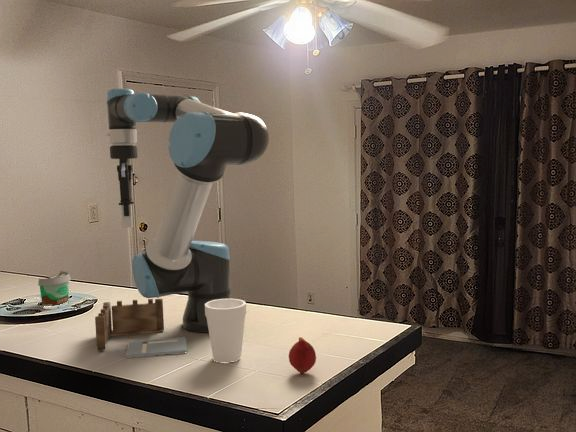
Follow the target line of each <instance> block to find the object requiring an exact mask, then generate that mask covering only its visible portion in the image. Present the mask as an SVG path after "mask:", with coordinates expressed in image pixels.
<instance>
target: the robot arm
mask: <svg viewBox="0 0 576 432" xmlns="http://www.w3.org/2000/svg"><path fill="white" fill-rule="evenodd" d="M106 105H107V118H108V119H107V122H108V129H109V130H108V131H109V132H108V133H106V136H107V137H109V144H110V146H109V157H110V159H112V160H118V162H119V165H116V172H117V175H118V176H117V179H118V182H119V195H120V200H119V201H120V202H118V205H119V206H120V207H121V208H120V209H121V222H122V223H121V225H122V228H123V229H125V228H133V211H132V209H133V207H132V205H134V203H135V202H134V201H132V185H131V183H132V181H131V180H132V179H133V178H132V177H133V175H132V171H133V165H131V164H130V159H137V158H138V146H137V145H136V144H137V143H138V133H137V123H173V125H172V127H171V128H170V131H169V136H168V142H169V145H168V154H169V157H170V159H171V161H172V162H173V167H174V168H175V170H176V174H175V177H174V179H173V182H172V186H171V189H170V193H169V195H168V199H167V202H166V205H165V208H164V211H163V214H162V216H161V217H162V218H161V221H160V224H159V228H158V231H157V233H156V236H155V237H154V238H153V239H151V240H150V241H149V242H148V243H147V244H146V247H145V250H144V252H143V253H141V252H139V253H137V254H135V255H134V256H133V258H132V261H131V269H132V270H131V271H132V277H133V280H134V284H135V286H136V289H137V291H138V292H139V294H140V296H141V297H143V298H146V299H154V298H155V299H160V298H161V297H166V296H171V295H178V294H182V293H187V301H186V305H185V308H184V312H183V316H182V327H183V329H185V330H188V331H191V332H196V333H209V330H208V324H207V318H206V316H205V303H207V302H209V301H212V300H217V299H233V298H232V294H231V293H232V292H231V264H230V263H231V258H230V257H231V256H230V249H229V246H228V245H227V244H225V243H222V242H216V241H210V240H209V241H208V240H207V241H206V240H193V239H194V236H195V233H196V231H197V228H198V225H199V223H200V220H201V217H202V214H203V212H204V208H205V205H206V203H207V201H208V199H209V195H210V193H211V190H212V187H213V184H214V183H216V182H219V181H220V180H222V178H223V176H224V174H225V172H226V168H227V167H228V166H240V165H241V166H242V165H248V164H251V163H254V162H256V161H257V160H258V159H260V158H261V157H262V156H263V155H264V154H265V152H266V150H267V149H268V146H269V144H270V143H269V141H270V133H269V130H268V127H267V125H266V124H265V123H264V121H263V120H262V119H261V118H260V117H259V116H256V115H254V114H250V113H246V112H242V111H241V112H240V111H239V112H238V111H237V112H235V113H233V112H229V111H227V110H225V109H224V110H223V109H221V108H217V107H215V106H212V105H209V104H206V103H204V102H201V101H200V100H199V98H198V97H196V96H192V95H186V94H185V95H170V94H169V95H168V94H154V93H153V94H152V93H151V94H149V93H147V92H134V90H133V89H130V88H112V89H109V90H107V99H106Z"/></svg>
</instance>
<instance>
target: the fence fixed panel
mask: <svg viewBox="0 0 576 432" xmlns="http://www.w3.org/2000/svg"><path fill="white" fill-rule="evenodd" d="M147 302H148V303H138V299H132V304H130V303H129V304H123V300H117V301H116V305H115V304H114V305H111V302H110V301H106V302H103V303H102V306H103V305H108V308H109V320H110V335H109V337H118V336H119V337H120V336H131V335H132V336H133V335H146V334H157V333H159V332H161V333H164V331H165V322H164V321H165V320H164V303H163V302H164V300H163V298H155V299H154V298H147Z"/></svg>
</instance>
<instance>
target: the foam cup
mask: <svg viewBox="0 0 576 432" xmlns="http://www.w3.org/2000/svg"><path fill="white" fill-rule="evenodd" d="M246 315H247V303H246V301H245V300H242V299H238V298H232V299H217V300H212V301H209V302H207V303H205V316H206V318H207V324H208V330H209V332H208V335H209V341H210V347H211V353H212V358H214V359H213V361H214V360H215V361H217V362H231V361H236V360H238V359H239V358H240V357H241V358H242V350H243V340H244V331H245V330H244V329H245V321H246ZM215 361H214V362H215ZM217 362H216V363H217Z"/></svg>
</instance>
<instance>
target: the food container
mask: <svg viewBox="0 0 576 432" xmlns="http://www.w3.org/2000/svg"><path fill="white" fill-rule="evenodd" d="M69 273H70V272H68V271H63V270H60V271H59V274H57V275H50V276H48V277H47V278H39V279H38V281H37V282H38V283H37V284H38V285H37V286H39V290H40V298H41V304H42V305H41V307H42V308H43V307H44V306H54V305H60V304H63V303H65V302H67V301H68V302H69V295H70V294H69V289H70V288H69V287H70V285H69V284H70V283H69V282H70V281H71V280H72V278H71V275H70V274H69Z"/></svg>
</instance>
